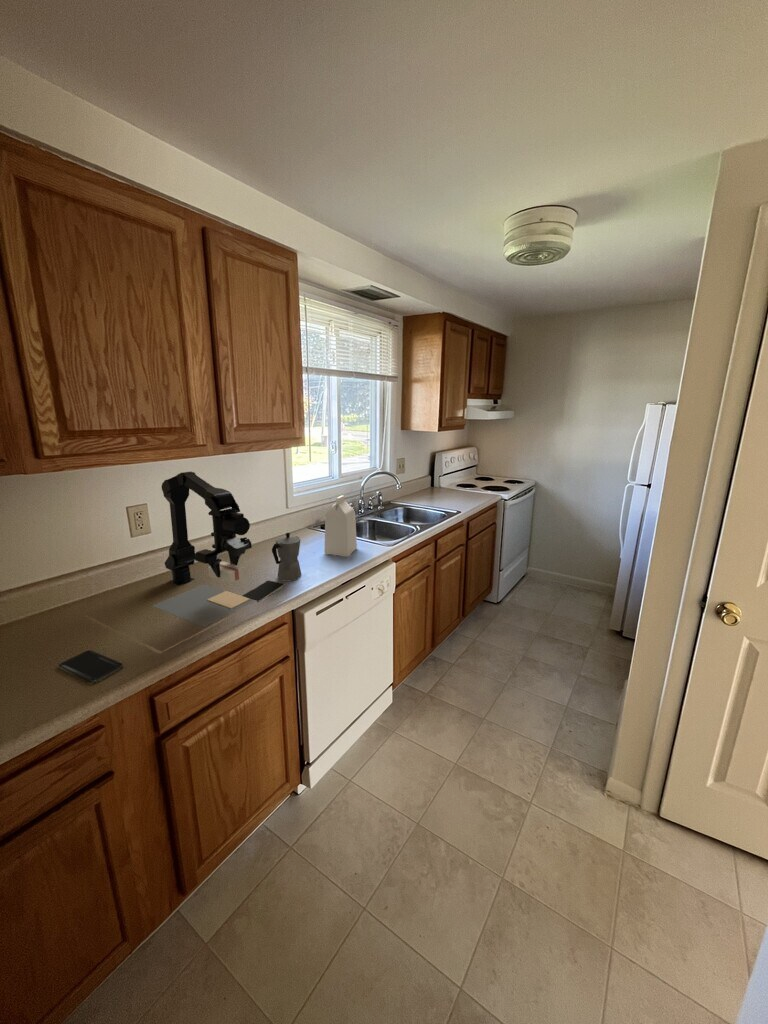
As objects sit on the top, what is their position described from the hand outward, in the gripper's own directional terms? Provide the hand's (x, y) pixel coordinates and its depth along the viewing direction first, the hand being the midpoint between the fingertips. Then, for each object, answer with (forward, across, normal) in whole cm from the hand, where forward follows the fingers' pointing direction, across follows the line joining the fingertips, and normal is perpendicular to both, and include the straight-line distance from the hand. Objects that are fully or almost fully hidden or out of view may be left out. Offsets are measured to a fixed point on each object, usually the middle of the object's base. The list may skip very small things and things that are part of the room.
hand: (226, 573), depth 138 cm
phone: (+11, -43, 0) cm, 44 cm away
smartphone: (+11, +12, -4) cm, 16 cm away
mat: (+10, -6, +5) cm, 13 cm away
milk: (+10, +62, -3) cm, 63 cm away
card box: (+1, 0, 0) cm, 1 cm away
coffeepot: (+10, +26, -3) cm, 28 cm away
